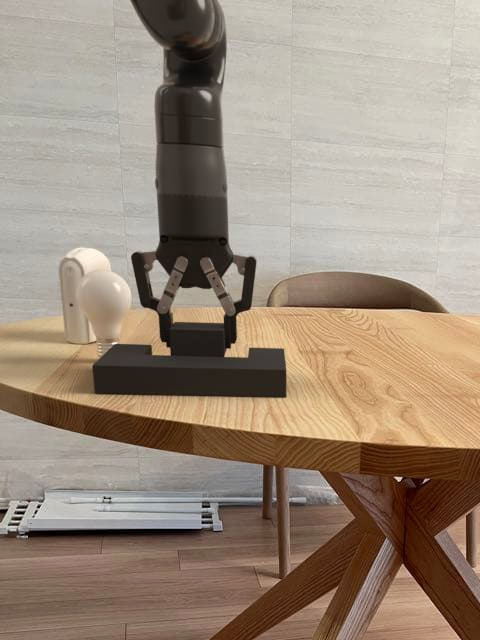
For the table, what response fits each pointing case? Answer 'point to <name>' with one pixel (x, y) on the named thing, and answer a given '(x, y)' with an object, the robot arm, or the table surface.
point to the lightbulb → (104, 305)
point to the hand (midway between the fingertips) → (199, 346)
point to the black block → (197, 339)
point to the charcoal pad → (190, 373)
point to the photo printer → (69, 276)
